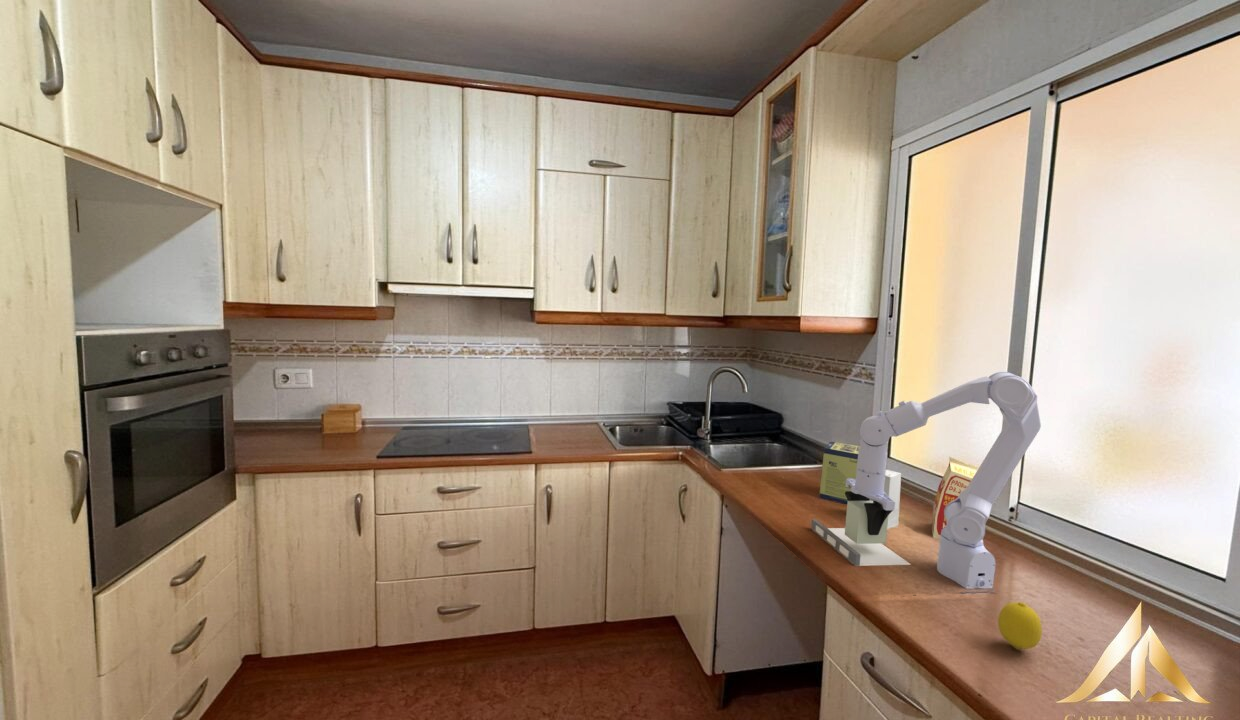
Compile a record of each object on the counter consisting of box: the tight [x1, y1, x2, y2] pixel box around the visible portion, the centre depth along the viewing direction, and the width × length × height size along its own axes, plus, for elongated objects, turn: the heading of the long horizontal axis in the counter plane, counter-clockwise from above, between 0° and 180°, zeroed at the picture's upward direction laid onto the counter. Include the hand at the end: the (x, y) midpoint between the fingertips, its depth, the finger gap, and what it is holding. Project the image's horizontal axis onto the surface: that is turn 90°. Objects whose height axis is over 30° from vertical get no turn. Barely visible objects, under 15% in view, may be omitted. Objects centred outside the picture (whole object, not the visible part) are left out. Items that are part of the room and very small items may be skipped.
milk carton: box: [931, 456, 980, 540], centre depth 124 cm, size 9×9×20 cm
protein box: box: [818, 441, 860, 505], centre depth 146 cm, size 10×16×16 cm
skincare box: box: [869, 469, 902, 530], centre depth 128 cm, size 8×6×15 cm
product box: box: [844, 501, 889, 544], centre depth 111 cm, size 5×7×8 cm
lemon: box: [997, 601, 1043, 650], centre depth 81 cm, size 6×6×8 cm
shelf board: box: [810, 518, 912, 567], centre depth 114 cm, size 18×13×4 cm
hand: (865, 528), depth 111 cm, fingers closed on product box, 5 cm apart
